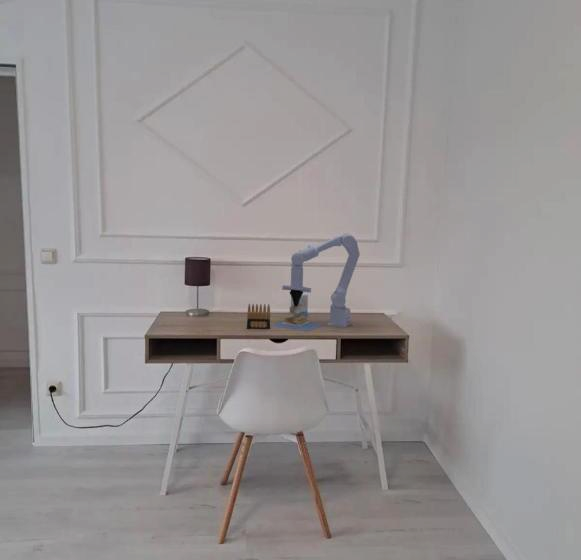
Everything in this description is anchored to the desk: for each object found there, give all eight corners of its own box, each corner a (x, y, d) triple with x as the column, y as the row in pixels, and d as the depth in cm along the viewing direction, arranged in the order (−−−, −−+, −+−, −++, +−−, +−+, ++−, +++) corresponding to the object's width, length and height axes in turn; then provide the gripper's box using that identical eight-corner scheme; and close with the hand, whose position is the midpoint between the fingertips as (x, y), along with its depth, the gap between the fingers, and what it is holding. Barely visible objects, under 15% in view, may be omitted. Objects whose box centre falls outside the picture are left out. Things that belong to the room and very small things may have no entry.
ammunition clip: (246, 329, 236) (247, 303, 235) (246, 328, 238) (247, 303, 236) (270, 330, 237) (270, 304, 235) (270, 329, 238) (270, 303, 237)
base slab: (306, 322, 253) (306, 316, 252) (299, 325, 246) (299, 319, 245) (291, 320, 256) (292, 314, 256) (284, 323, 249) (284, 317, 249)
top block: (301, 316, 251) (302, 306, 251) (297, 318, 247) (298, 307, 247) (293, 315, 253) (293, 305, 253) (289, 316, 249) (289, 306, 249)
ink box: (307, 316, 268) (308, 288, 266) (300, 317, 265) (301, 289, 263) (297, 313, 275) (298, 286, 273) (290, 314, 272) (290, 286, 270)
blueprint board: (324, 325, 250) (324, 323, 250) (308, 332, 234) (308, 331, 234) (287, 320, 259) (287, 318, 258) (269, 327, 243) (269, 325, 243)
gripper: (279, 277, 248) (278, 305, 249) (307, 280, 241) (306, 308, 243) (286, 275, 254) (285, 303, 256) (313, 278, 247) (312, 306, 249)
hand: (296, 305), depth 250 cm, fingers closed
